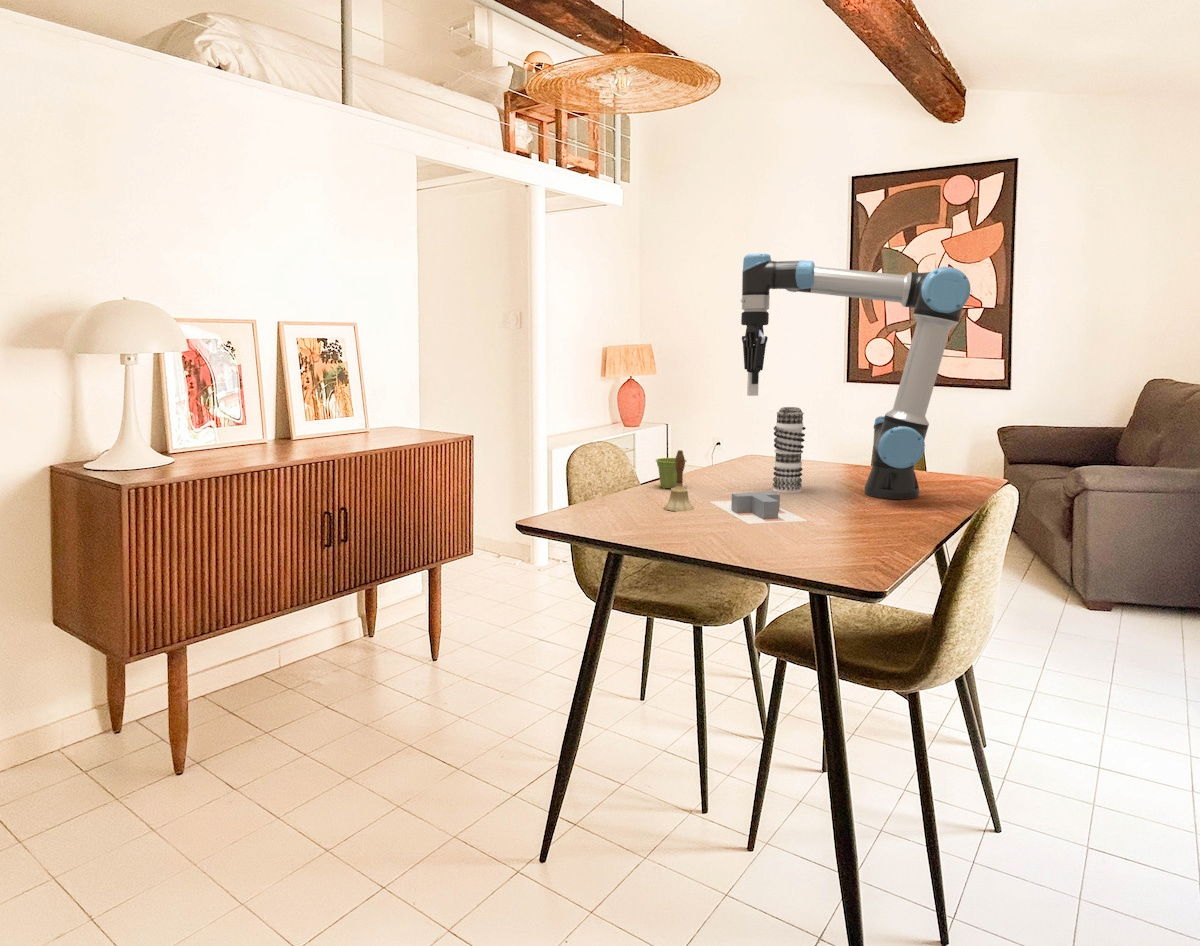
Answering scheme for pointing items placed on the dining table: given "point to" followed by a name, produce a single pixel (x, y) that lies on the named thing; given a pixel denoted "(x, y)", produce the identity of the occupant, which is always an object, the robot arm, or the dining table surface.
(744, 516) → the board
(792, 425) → the decorative candle
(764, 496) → the T block
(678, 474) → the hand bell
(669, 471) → the plant pot
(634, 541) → the dining table surface
